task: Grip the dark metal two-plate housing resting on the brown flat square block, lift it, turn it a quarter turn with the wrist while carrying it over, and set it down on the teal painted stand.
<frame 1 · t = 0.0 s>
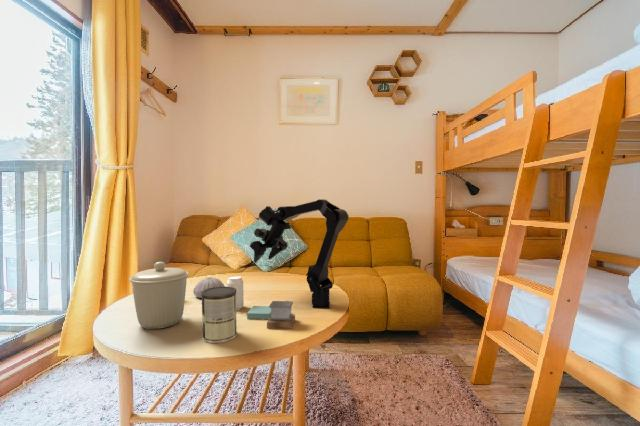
hand: (262, 260, 146), 15 cm above the table, tool tilted 35°, fingers open, 9 cm apart
housing: (281, 318, 111), point 2 cm above the table, touching brown flat square block
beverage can: (235, 308, 127), on the table
sea urchin shell: (209, 296, 144), on the table
coffee can: (219, 336, 101), on the table
brown flat square block: (281, 324, 111), on the table
stand B: (261, 315, 119), on the table
canister: (161, 324, 112), on the table
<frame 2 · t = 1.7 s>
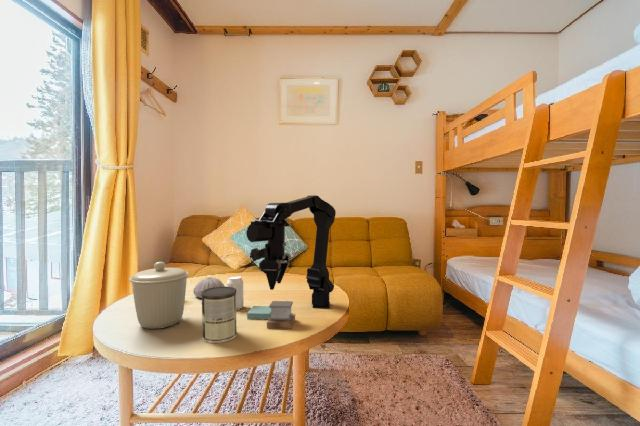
hand: (275, 286, 111), 13 cm above the table, tool pointing down, fingers open, 9 cm apart
nothing on the table moved.
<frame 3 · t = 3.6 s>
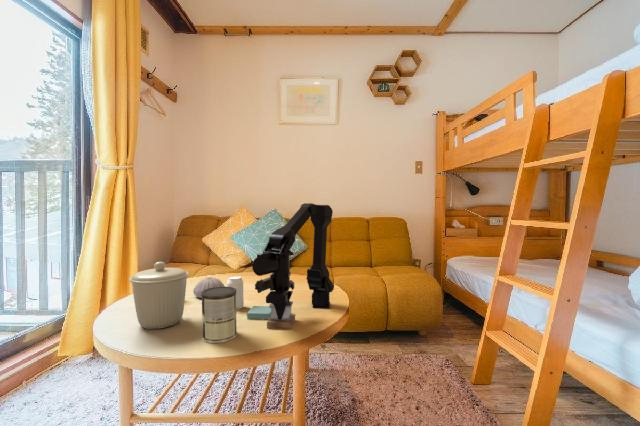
hand: (281, 316, 110), 3 cm above the table, tool pointing down, fingers closed on housing, 5 cm apart
housing: (281, 318, 111), point 2 cm above the table, touching gripper, brown flat square block
everything else where it was.
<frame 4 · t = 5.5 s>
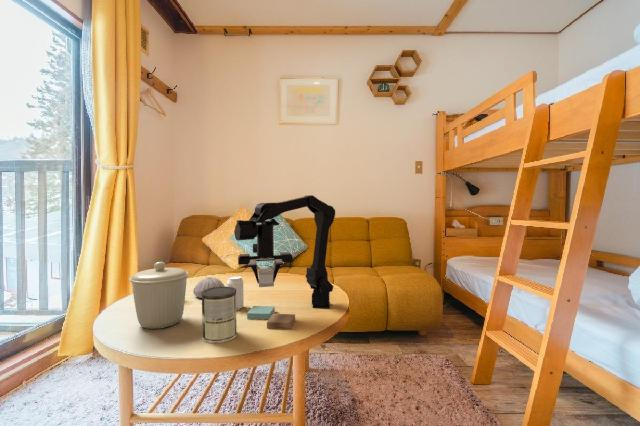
hand: (265, 282, 116), 13 cm above the table, tool pointing down, fingers closed on housing, 5 cm apart
housing: (265, 284, 116), point 12 cm above the table, touching gripper
everything else where it was.
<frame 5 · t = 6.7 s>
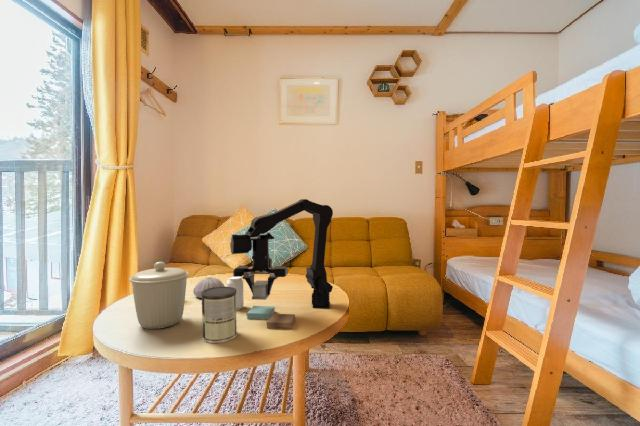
hand: (261, 294, 119), 7 cm above the table, tool pointing down, fingers closed on housing, 5 cm apart
housing: (261, 296, 119), point 7 cm above the table, touching gripper
everything else where it was.
when the fingers open (4 cm above the table, at t = 7.7 s): housing drops 1 cm, resting on stand B.
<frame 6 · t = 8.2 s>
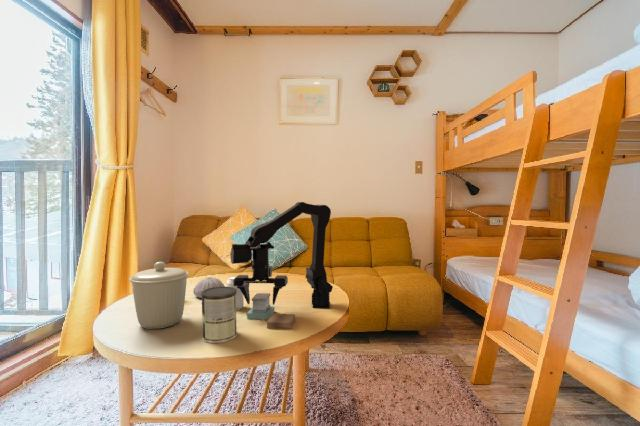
hand: (261, 304, 119), 4 cm above the table, tool pointing down, fingers open, 9 cm apart
housing: (261, 309, 119), point 2 cm above the table, touching stand B
everything else where it was.
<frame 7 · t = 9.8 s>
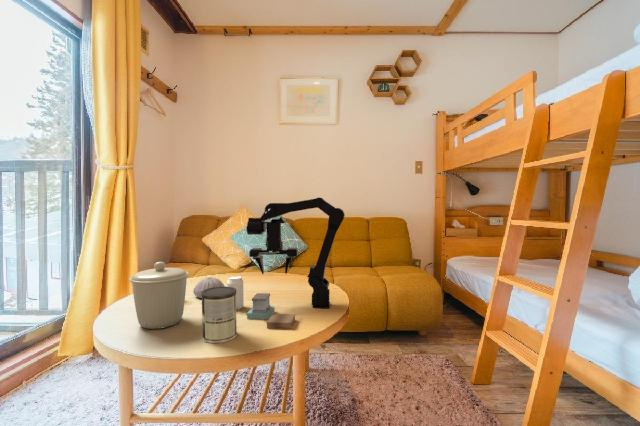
hand: (274, 273, 131), 12 cm above the table, tool pointing down, fingers open, 9 cm apart
nothing on the table moved.
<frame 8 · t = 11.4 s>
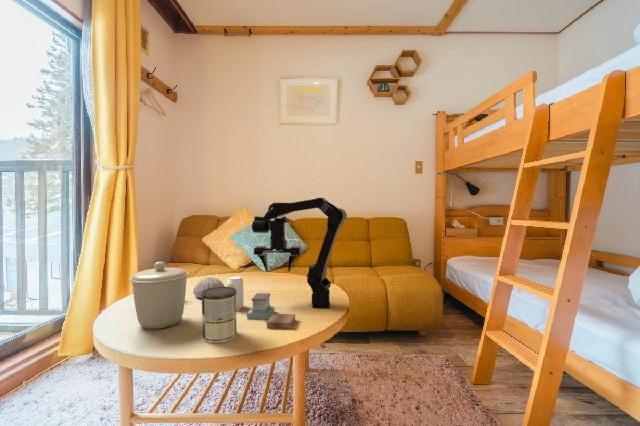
hand: (278, 271, 134), 13 cm above the table, tool pointing down, fingers open, 9 cm apart
nothing on the table moved.
at the end: housing inside the target area on the stand B (0.1 cm from its centre), point 2.0 cm above the stand B's base; housing tilted 0°; the gripper is holding nothing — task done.
